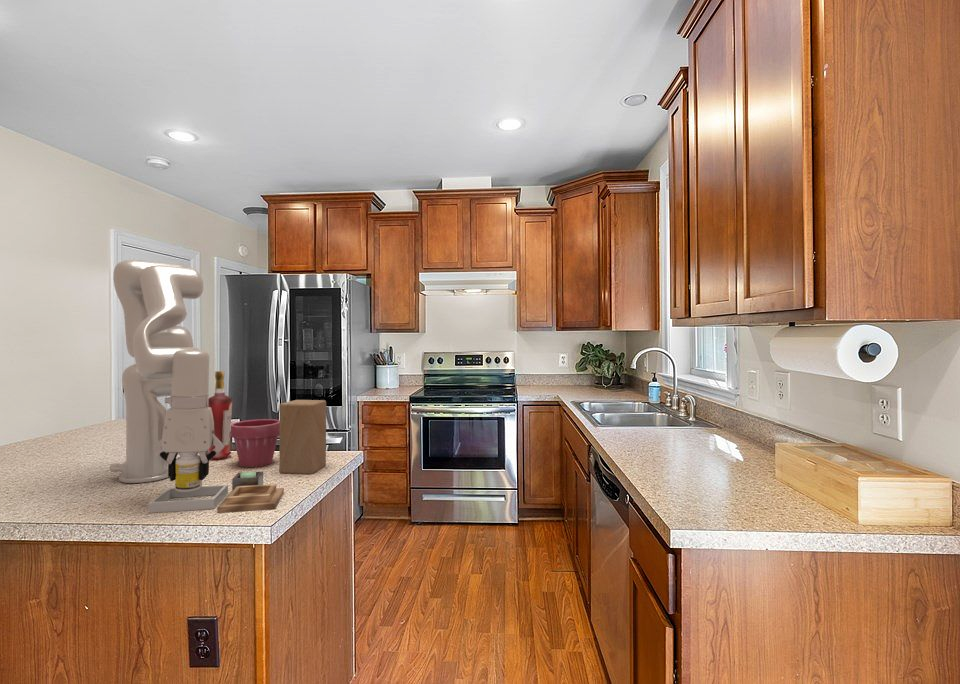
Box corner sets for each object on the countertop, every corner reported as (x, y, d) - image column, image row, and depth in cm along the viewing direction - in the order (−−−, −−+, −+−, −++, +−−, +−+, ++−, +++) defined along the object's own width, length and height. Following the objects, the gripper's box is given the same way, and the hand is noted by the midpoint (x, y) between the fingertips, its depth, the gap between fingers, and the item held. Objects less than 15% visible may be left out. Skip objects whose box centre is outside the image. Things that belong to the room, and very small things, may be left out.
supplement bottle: (182, 485, 119) (183, 444, 118) (205, 485, 119) (206, 445, 119) (170, 492, 113) (171, 450, 113) (194, 493, 114) (195, 451, 114)
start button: (238, 485, 123) (238, 475, 123) (242, 481, 126) (242, 471, 126) (254, 484, 123) (254, 474, 123) (257, 480, 127) (257, 471, 127)
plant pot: (226, 462, 153) (226, 421, 153) (273, 456, 162) (273, 417, 162) (236, 472, 142) (236, 427, 142) (286, 465, 151) (286, 423, 151)
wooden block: (326, 465, 150) (326, 400, 150) (312, 474, 140) (312, 404, 140) (295, 464, 151) (295, 399, 151) (278, 473, 141) (278, 403, 141)
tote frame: (148, 513, 108) (148, 503, 108) (168, 497, 119) (168, 488, 119) (214, 508, 111) (214, 499, 111) (227, 493, 122) (227, 484, 122)
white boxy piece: (232, 495, 121) (232, 479, 121) (238, 488, 127) (238, 472, 127) (258, 493, 122) (258, 477, 122) (263, 486, 128) (263, 471, 128)
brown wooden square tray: (217, 512, 109) (217, 500, 109) (231, 495, 121) (231, 484, 121) (275, 508, 112) (275, 496, 112) (283, 492, 123) (283, 482, 123)
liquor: (209, 456, 161) (209, 370, 161) (233, 454, 163) (234, 370, 163) (204, 461, 154) (204, 372, 154) (229, 459, 156) (230, 371, 156)
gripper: (141, 405, 110) (140, 485, 111) (225, 405, 114) (223, 482, 115) (155, 399, 117) (154, 475, 118) (234, 400, 121) (232, 473, 122)
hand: (188, 478), depth 116 cm, fingers closed on supplement bottle, 5 cm apart
